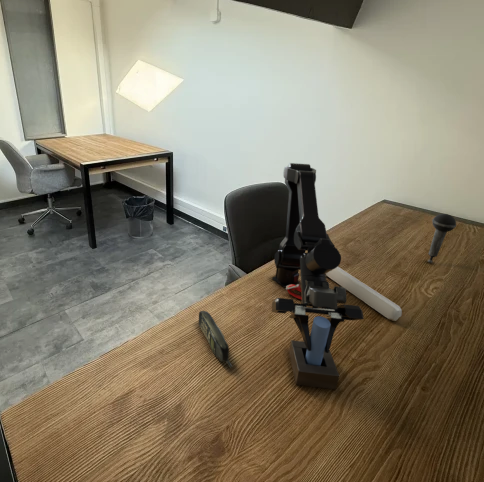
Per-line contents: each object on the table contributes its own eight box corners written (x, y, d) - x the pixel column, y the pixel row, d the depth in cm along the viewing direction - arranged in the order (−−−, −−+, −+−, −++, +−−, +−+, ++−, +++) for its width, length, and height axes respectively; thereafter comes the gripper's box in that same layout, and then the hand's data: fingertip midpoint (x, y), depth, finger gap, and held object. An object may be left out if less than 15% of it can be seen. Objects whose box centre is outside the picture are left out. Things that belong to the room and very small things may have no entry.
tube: (409, 308, 84) (335, 261, 105) (399, 308, 81) (325, 260, 102) (400, 324, 85) (328, 275, 106) (390, 325, 83) (319, 274, 103)
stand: (288, 352, 73) (291, 340, 72) (324, 356, 73) (327, 344, 71) (295, 384, 66) (298, 371, 64) (335, 389, 65) (339, 376, 64)
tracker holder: (310, 280, 100) (337, 291, 91) (308, 293, 100) (334, 306, 91) (283, 280, 94) (308, 292, 85) (280, 294, 94) (305, 308, 85)
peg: (300, 370, 69) (311, 322, 64) (306, 361, 71) (316, 313, 66) (315, 379, 67) (327, 330, 62) (320, 369, 69) (332, 321, 64)
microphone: (421, 265, 113) (438, 216, 106) (416, 256, 119) (432, 209, 112) (443, 269, 110) (462, 220, 104) (437, 260, 116) (455, 212, 110)
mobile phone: (196, 310, 79) (224, 354, 66) (207, 307, 80) (236, 350, 67) (196, 325, 81) (223, 371, 68) (206, 322, 82) (234, 367, 69)
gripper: (280, 267, 66) (281, 348, 59) (370, 275, 64) (382, 359, 57) (271, 276, 76) (271, 346, 69) (348, 284, 74) (356, 356, 67)
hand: (318, 351), depth 65 cm, fingers closed on peg, 3 cm apart
